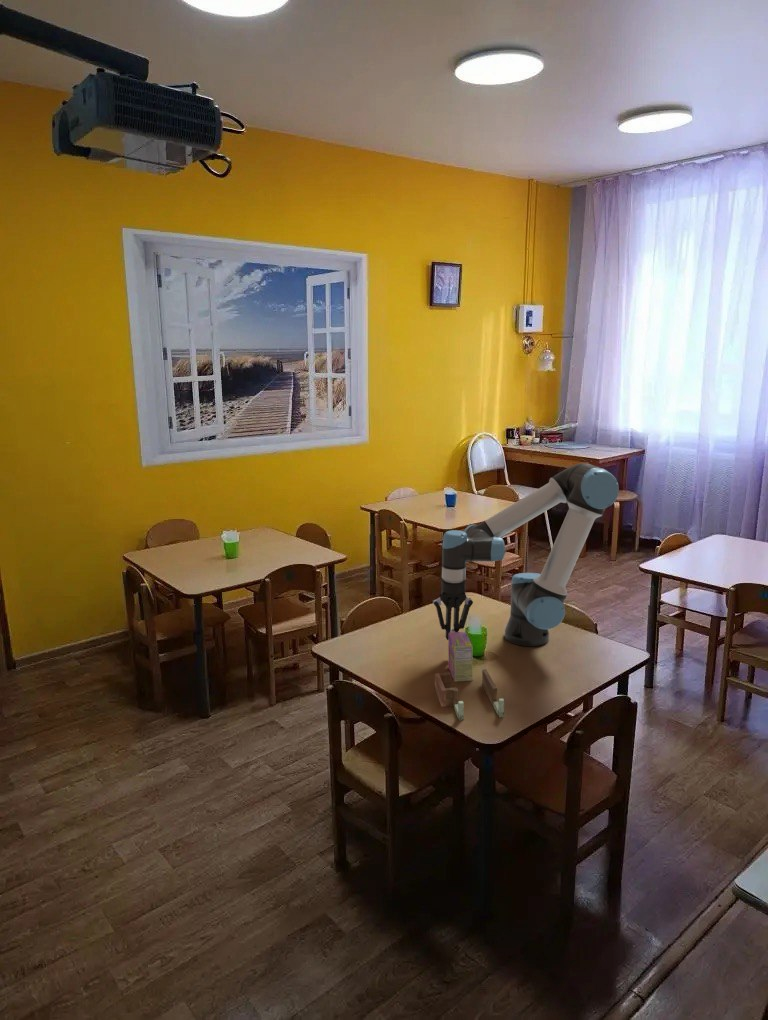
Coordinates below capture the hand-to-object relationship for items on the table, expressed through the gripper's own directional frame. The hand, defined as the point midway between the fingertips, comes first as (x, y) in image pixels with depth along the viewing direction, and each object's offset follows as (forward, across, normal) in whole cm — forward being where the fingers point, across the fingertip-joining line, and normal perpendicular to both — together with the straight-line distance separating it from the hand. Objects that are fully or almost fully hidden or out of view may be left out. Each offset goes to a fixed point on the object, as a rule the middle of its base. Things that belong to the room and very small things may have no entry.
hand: (451, 648), depth 223 cm
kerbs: (+4, 0, +35) cm, 35 cm away
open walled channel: (+4, +1, +25) cm, 25 cm away
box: (+4, 0, +11) cm, 12 cm away
